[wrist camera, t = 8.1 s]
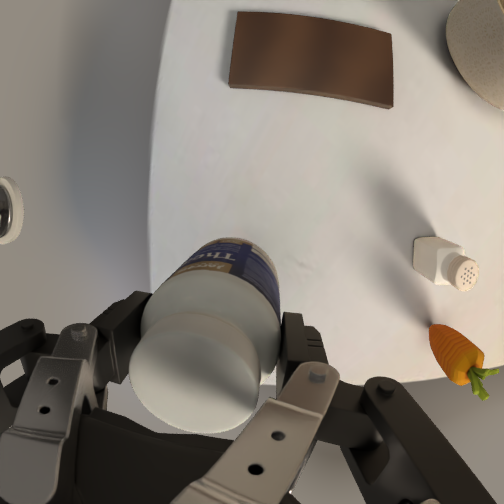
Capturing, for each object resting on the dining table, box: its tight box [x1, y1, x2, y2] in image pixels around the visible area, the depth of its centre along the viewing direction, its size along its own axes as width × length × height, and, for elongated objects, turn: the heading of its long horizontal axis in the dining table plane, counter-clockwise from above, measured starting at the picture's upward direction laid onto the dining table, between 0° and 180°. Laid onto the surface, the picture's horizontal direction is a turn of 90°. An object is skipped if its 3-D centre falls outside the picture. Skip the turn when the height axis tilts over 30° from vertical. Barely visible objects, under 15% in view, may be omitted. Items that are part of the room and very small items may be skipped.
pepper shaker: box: [413, 237, 479, 291], centre depth 27 cm, size 4×4×10 cm
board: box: [228, 12, 393, 109], centre depth 27 cm, size 18×10×2 cm, turn 85°
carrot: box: [429, 324, 499, 400], centre depth 27 cm, size 5×5×15 cm
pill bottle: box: [129, 238, 281, 433], centre depth 13 cm, size 5×5×10 cm
